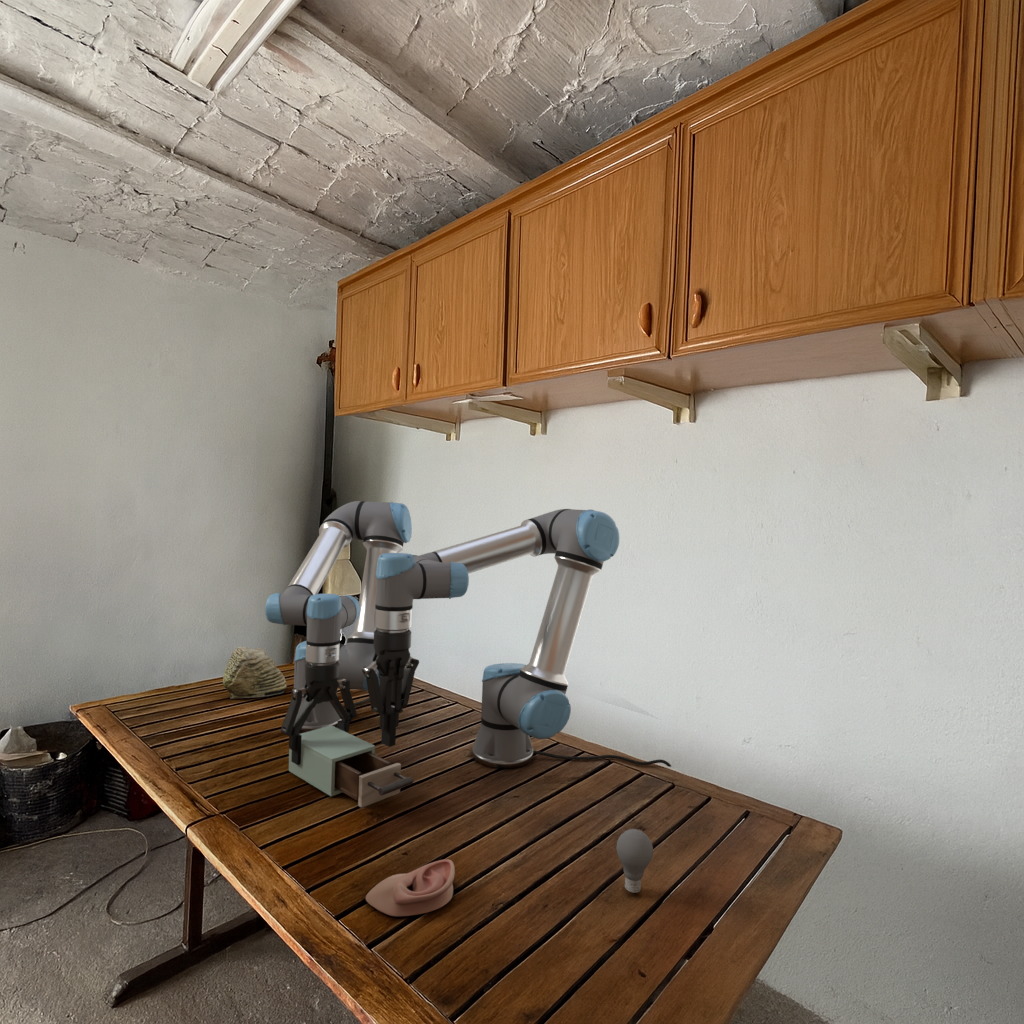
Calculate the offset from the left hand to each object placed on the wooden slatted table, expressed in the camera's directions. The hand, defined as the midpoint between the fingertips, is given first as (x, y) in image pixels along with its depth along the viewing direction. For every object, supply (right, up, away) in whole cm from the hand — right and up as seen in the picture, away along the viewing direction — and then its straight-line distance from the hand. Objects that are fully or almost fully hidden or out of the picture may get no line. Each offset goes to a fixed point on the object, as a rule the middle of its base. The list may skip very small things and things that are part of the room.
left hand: (319, 755), depth 147 cm
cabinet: (+4, -3, -3) cm, 6 cm away
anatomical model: (+28, -5, -45) cm, 54 cm away
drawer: (+14, -3, -12) cm, 19 cm away
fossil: (-36, -1, +51) cm, 62 cm away
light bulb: (+65, -7, -41) cm, 77 cm away
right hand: (+19, +9, -17) cm, 28 cm away
